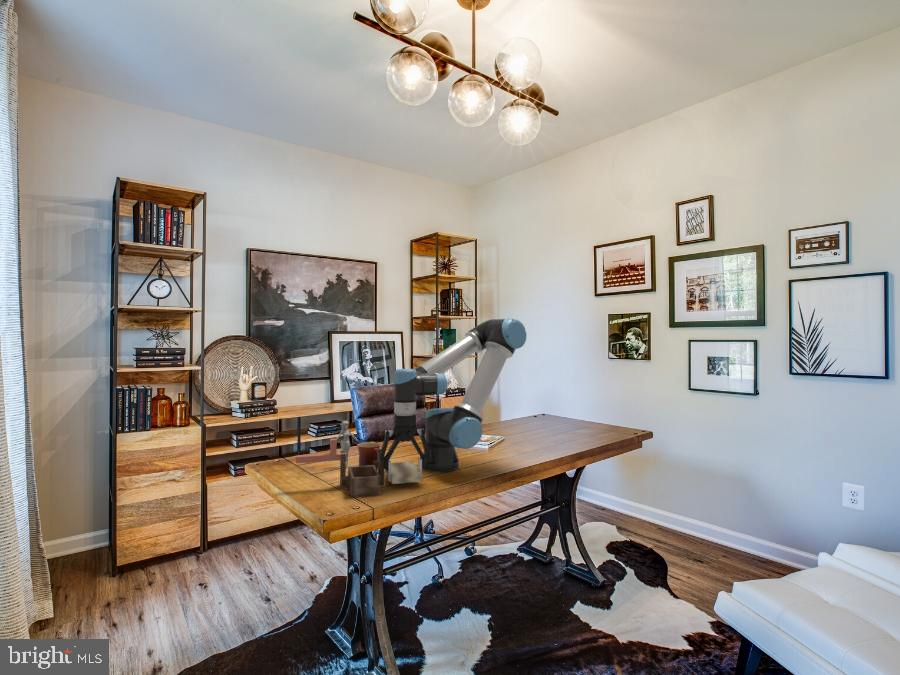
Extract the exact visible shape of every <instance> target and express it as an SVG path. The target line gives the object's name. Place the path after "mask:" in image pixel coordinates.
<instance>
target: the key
mask: <svg viewBox="0 0 900 675" xmlns="http://www.w3.org/2000/svg"><path fill="white" fill-rule="evenodd" d="M329 441H330V442H329V444H330V445H329V453H321V454H320V453H319V454H318V453H316V454H305V455H304V454H303V455H300V454H299V455H295V464H307V463H321V462H323V463H324V462H336V461H340V460H341V454H346V453H340V452H338V451H337V450H338V449H337V448H338V446H337V445H338V444H337V443H338V442H337V441H338V439H336V438H330V440H329Z"/></svg>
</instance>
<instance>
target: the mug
mask: <svg viewBox="0 0 900 675" xmlns="http://www.w3.org/2000/svg"><path fill="white" fill-rule="evenodd" d="M356 445H357V446H356V448H357V450H358V466H368V465H375V467H376V469H377V471H378V449H381V443H380V442H375V441H365V442H360V443H357V444H356Z"/></svg>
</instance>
